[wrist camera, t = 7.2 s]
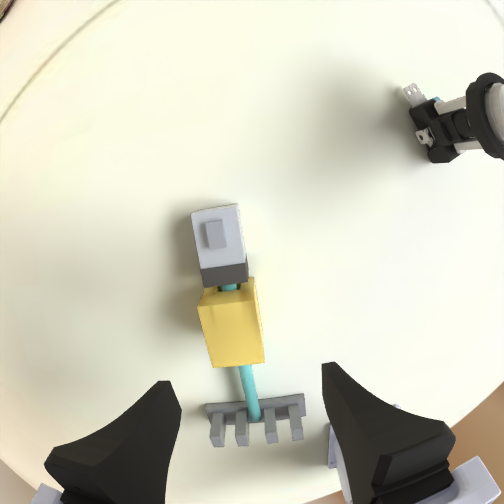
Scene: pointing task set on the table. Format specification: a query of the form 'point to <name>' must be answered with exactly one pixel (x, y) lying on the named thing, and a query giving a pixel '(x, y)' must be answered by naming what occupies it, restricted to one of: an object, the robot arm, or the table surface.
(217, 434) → the cable comb
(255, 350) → the marker sleeve
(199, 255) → the connector
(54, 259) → the table surface
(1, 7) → the pencil case
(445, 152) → the push button
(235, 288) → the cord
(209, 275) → the band
